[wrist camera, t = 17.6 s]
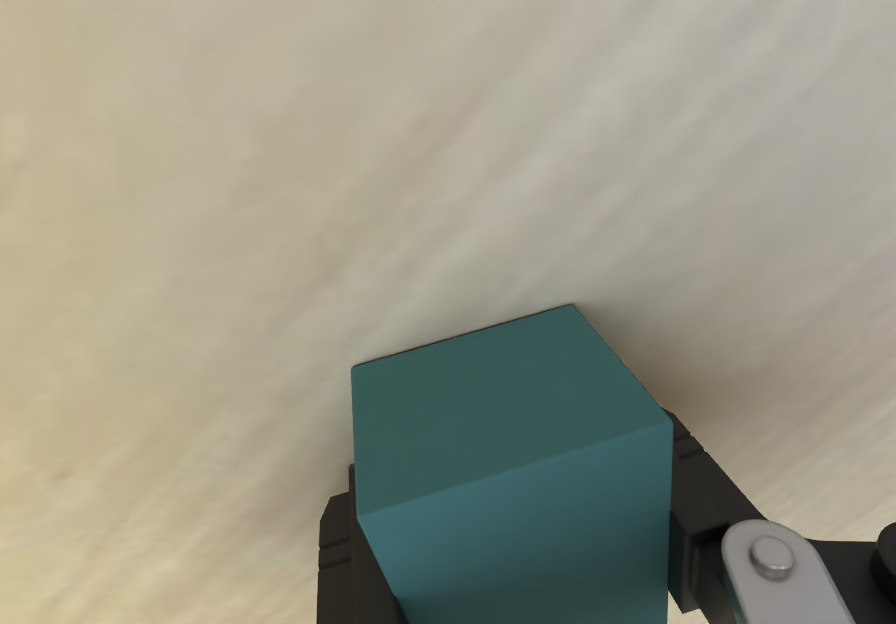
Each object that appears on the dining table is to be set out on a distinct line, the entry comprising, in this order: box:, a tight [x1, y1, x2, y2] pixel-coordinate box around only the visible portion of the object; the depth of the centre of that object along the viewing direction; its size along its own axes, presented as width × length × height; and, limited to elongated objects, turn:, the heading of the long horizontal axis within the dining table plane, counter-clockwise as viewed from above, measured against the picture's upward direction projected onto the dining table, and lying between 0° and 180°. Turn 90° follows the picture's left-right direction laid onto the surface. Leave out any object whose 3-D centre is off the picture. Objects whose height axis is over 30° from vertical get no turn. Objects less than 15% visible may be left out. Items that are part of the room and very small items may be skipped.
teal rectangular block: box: [351, 305, 673, 624], centre depth 10 cm, size 6×4×4 cm
